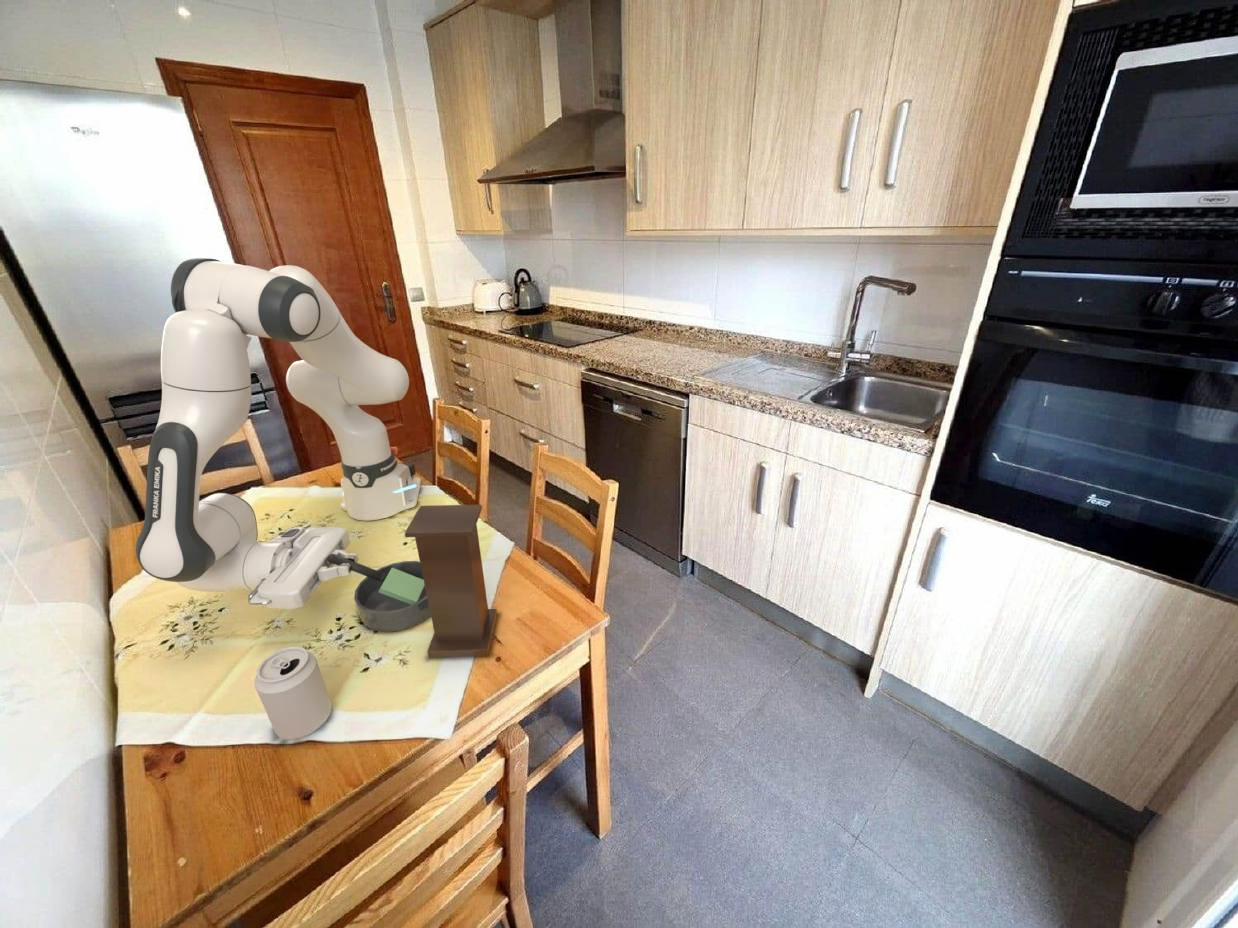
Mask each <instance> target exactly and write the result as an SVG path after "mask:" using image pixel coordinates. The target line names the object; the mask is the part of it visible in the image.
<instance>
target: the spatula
mask: <svg viewBox="0 0 1238 928" xmlns="http://www.w3.org/2000/svg"><path fill="white" fill-rule="evenodd" d="M327 560H328V562H330V563H333V564H334V565H335V566H339V565H340V563H350V564H351V568H352V570H351V572H354V573H357V574H360V575H362V576H364V577H370V578H372V579H375V580H377V581H380V582H382V581H384V580H385V581H384V582H383V584H382V586H381V588H380V590H379V593H382V594H384V595H387V596H390V597H392V598H395V599H398V600H400V601H403V602H406V603H408V604H411V605H412V604H415V603H417V601H418V599H419V597H420V595H421V592H422V590H423V588H424V586H425V584H424V580H423V579H420V578H417V577H415V576H412V575H410V574H407V573H405V572H402V571H400V570H397V569H395V568H391V570H390V572H389V574H388V575H387V577H386V575H385V574H384V573H382V572H379V571H377V570H378V569H374V568H371V567H369V566H366V565H364V564H361V563H359V562H357V563H356V562H353V561H351V560H348V559H346V558H343V557H341V556H338V555H335V554H330V555H329V556H328V557H327Z"/></svg>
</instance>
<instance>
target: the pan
mask: <svg viewBox="0 0 1238 928" xmlns="http://www.w3.org/2000/svg"><path fill="white" fill-rule="evenodd" d="M391 568H395V569H397V570H400V571H402V572H405V573H407V574H410V575H412V576H415V577H417V578H420V579H423V574H422V569H421V564H420V560H404V561H399V562H394V563H393V562H392V563H390V564H387V565H385V566H382V567H379V568H378V569H376V570H377V571H379V572H382V573H384V574H385V575H386V577H387V575H388V574H389V572H390V570H391ZM423 580H424V579H423ZM384 581H385V580H384ZM384 581H382V582H380V581H377V580H375V579H372V578H370V577H367V576H365V578H363V579H362V580H360V582H359V583H358V585H357V587H356V589H355V590H354V596H353V600H354V603H355V607H356V610H357V613H358V617H359V619H360V621H361V623H362V624H363V625H364V626H365V627H367V628H368V629H370V630H373V631H377V632H383V633H390V632H399V631H403V630H407V629H410V628H413V627H414V626H417V625H419V624H421V623H422V622H425V621H426V620H427V619H429V618H431V613H430V608H429V603H428V598H427V594H426V589H425V586H424V588H423V590H422V592H421V595H420V597H419V599H418V601H417V603H415V604H412V605H411V604H408V603H406V602H403V601H400V600H398V599H395V598H392V597H390V596H387V595H384V594H382V593H379V590H380V588H381V586H382V584H383V582H384Z"/></svg>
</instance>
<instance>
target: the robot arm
mask: <svg viewBox="0 0 1238 928" xmlns="http://www.w3.org/2000/svg"><path fill="white" fill-rule="evenodd" d="M170 281H171V283H170V297H171V304H172V305H171V306H172V308H173V310H174V313H172V315H170V316H169V317H168V318H167V320H166V321H165V324H164V328H163V333H162V342H161V347H160V348H161V350H160V376H161V402H160V403H161V404H160V411H159V416H158V420H157V424H156V427H155V430H154V431H153V434H152V436H151V439H150V443H149V448H148V457H147V470H146V488H145V506H144V507H145V508H144V509H145V510H144V520H143V525H142V528H141V531H140V533H139V534H138V537H137V539H136V543H135V555H136V560H137V561H138V563H139V565H140V567H141V568H142V570H143V571H144V572H145V573H146V574H148V575H149V576H150V577H152V578H155V579H158V580H160V581H165V582H169V583H170V582H171V583H177V585H179V586H181V587H182V588H185V589H188V590H192V591H197V592H204V593H205V592H206V593H232V592H233V593H234V592H237V591H241V590H247V591H250V593H249V594H248V596H247V597H246V598H247V603H248V604H249V605H250V606H252V607H262V606H264V607H265V608H269V609H275V610H277V609H278V610H297V609H300V608H302V607H304V606H305V605H306V604H307V603H308V601H309V600H310V599H311V597H312V596H313V594H314V593H315V592H316V590H317V589H318V588H319V586H320V585H321V584H322V582H327V581H331V580H333V579H335V578H339V577H347V576H349V575H350V573H352V571H351V570H352V568H351V564H350V563H340V565H339V566H338V565H335V564H333V563H330V562H328V560H327V557H328V556H329V555H330V554H335V555H338V556H341V557H343V558H346V559H348V560H351V561H353V562H356V563H358V562H359V555H358V554H357V553H355V552H353V553H352V552H351V553H348V552H347V551H346V549H347V548H348V547H349V546H350V544H351V538H350V535H349V531H348V529H346V528H344V527H342V526H316V527H311V528H307V529H305V527H304V526H294V527H292V528H291V529H289V530H287V531H286V532H283V533H282V534H280V535H278V536H277V537H274V538H271V539H269V540H268V541H258V536H259V534H258V533H259V531H258V522H257V518H256V513H255V511H254V508H253V507H252V505H251V504H250V503H249V502H247V501H246V500H245V499H244V498H242V497H240V496H238V495H236V494H233V493H228V492H215V493H212V494H210V495H208V496H206V497H204V498H202V499H201V500H200V491H201V478H202V475H203V472H204V470H205V468H206V465H208V462H209V461H210V459H211V458H212V457H213V456H214V454H216V453H217V452H218V450H219V449H220V448H221V447H222V446H223V445H224V444H225V443H226V442H227V441H228V440H230V439H231V438H232V437H233V436H234V435H236V434H237V433H238V432H239V431H240V430H241V429H242V428H243V427H244V425H246V423H247V422H248V419H249V414H250V410H251V406H252V378H251V375H252V374H251V366H250V360H249V359H250V358H249V354H248V347H249V346H250V342H251V341H252V337H251V336H253V337H259V338H267V339H273V340H275V341H278V342H285V343H289V344H290V346H291V347H292V348H293V350H294V351H295V352H296V354H297V355H298V356H299V358H300V359H301V360H296V361H294V362H292V363H291V365H290V366H289V368H288V369H287V372H286V375H285V384H286V387H287V388H286V389H287V390H288V392H289V394H290V395H291V396H292V398H294V400H296V401H297V402H298V403H300V404H302V405H304V406H306V407H308V408H309V409H310V410H312V411H313V412H314V413H316V414H317V415H318V416H319V417H320V418H321V419H322V420H323V421H324V423H326V424H327V426H328V427H329V429H330V430H331V431H332V434H333V436H334V439H335V442H336V445H337V448H338V450H339V454H340V457H341V460H340V469H341V471H342V474H343V477H342V478H341V480H340V485H341V491H342V493H341V494H342V497H343V501H342V502H341V503H340V505H339V506H340V509H341V510H343V511H345V512H347V514H348V516H349V517H350V518H352V519H354V520H357V521H364V522H365V521H367V522H368V521H378V520H383V519H386V518H390V517H392V516H394V515H397V514H399V513H401V512H404V511H405V510H409V509H412V508H415V507H416V506H417V504H418V498H419V495H420V489H421V485H422V479H421V478H420V477H417V476H415V475H416V468H415V467H416V466H415V464H414V463H409V462H400V461H397V457H396V456H395V455H398V450H399V449H398V447H397V446H391V445H390V440H389V435H388V431H387V430H388V429H387V427H386V425H385V424H384V423H383V422H382V421H381V420H380V418H378V417H376V416H373V415H371V414H369V413H367V412H365V411H364V409H362V408H361V407H360V406H370V405H371V406H373V405H376V406H377V405H385V404H389V403H390V404H391V403H393V402H399V401H401V400H403V399H404V397H405V396H406V395H407V393H408V390H409V387H410V377H409V374H408V373H409V372H408V371H407V369H406V368H405V366H404V365H403V364H402V363H401V361H399V360H398V359H396V358H392V357H390V356H387V355H384V354H383V353H380V352H379V351H376V350H375V349H373V348H372V347H370V346H369V345H367V344H366V343H364V342H363V341H362V340H361V339H359V337H357V336H356V335H355V334H354V333H353V330H352V329H351V328H350V327H349V325H348V323H347V322H346V320H345V319H344V317H343V315H342V313H341V312H340V309H339V308H338V307H337V305H336V303H335V301H334V300H333V299H332V297H331V295H330V294H329V293H328V291H327V290H326V289H325V288H324V286H323V285H322V284H321V283H320V282H319V280H318V279H317V278H316V277H315V276H314V275H313V274H312V273H311V272H310V271H308V270H307V269H306V268H303V267H301V266H298V265H292V264H285V265H280V266H276V267H274V268H271V269H270V270H267V269H263V268H260V267H256V266H252V265H244V264H240V263H234V262H227V261H226V262H225V261H221V260H219V259H215V258H206V257H195V258H188V259H186V260H183V262H181V263H180V264H179V265H178V266H177V267H176V269H175V270H174V273H172V277H171V280H170Z"/></svg>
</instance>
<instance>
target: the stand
mask: <svg viewBox="0 0 1238 928" xmlns="http://www.w3.org/2000/svg"><path fill="white" fill-rule="evenodd" d="M482 510H483V505H482V504H444V505H443V504H439V505H438V504H437V505H434V504H433V505H420V506H419V508H418V509H417V510H416V513H415V514H414V515H413V518H412V519H411V521H410V523H409V525H408V527H407V528H406V530H405V531H404V537H405V538H414V539H415V544H416V549H417V554H418V558H419V562H420V564H421V569H422V574H423V579H424V584H425V589H426V594H427V598H428V603H429V608H430V613H431V616H430V618H431V622H432V628H433V635H432V637H431V640H430V644H429V646H428V648H427V657H428V659H447V658H449V659H450V658H475V657H477V658H478V657H480V658H481V657H489V654H490V653H489V652H490V648H491V643H492V640H493V636H494V631H495V626H496V622H497V618H498V611H497V608H489V605H488V604H489V603H488V597H487V590H486V583H485V576H484V568H483V561H482V555H481V547H480V539H479V533H478V525H477V523H478V521H479V518H480V516H481V513H482Z"/></svg>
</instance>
